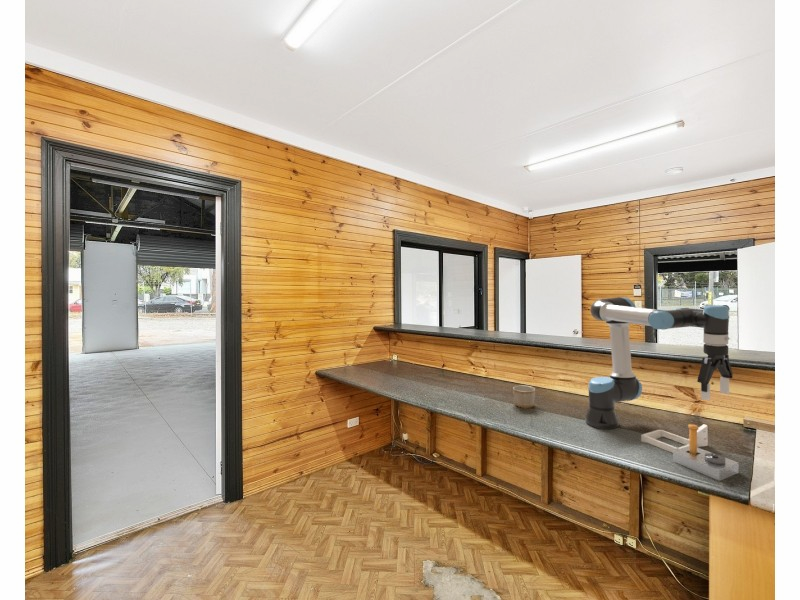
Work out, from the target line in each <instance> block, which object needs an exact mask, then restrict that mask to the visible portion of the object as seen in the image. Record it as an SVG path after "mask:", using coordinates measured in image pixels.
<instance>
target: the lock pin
mask: <svg viewBox="0 0 800 600" xmlns="http://www.w3.org/2000/svg"><path fill="white" fill-rule="evenodd" d="M687 428H688V430H689V435H688V436H689V453H690V454H693V455H695V456H696V455H697V430H698V428H699V425H697V424H693V423H692V424H690V423H688V425H687Z"/></svg>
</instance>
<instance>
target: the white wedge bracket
mask: <svg viewBox="0 0 800 600" xmlns="http://www.w3.org/2000/svg"><path fill="white" fill-rule="evenodd" d="M708 429H709V428H708V425H707V424H704V423H703V424H702V425H700V426H698V430H697V443H698V448H700V447H708V446H709V445H708V443H709V441H708V439H709V438H708V434H709V433H708V432H709V431H708ZM687 439H689V438H687Z"/></svg>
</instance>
